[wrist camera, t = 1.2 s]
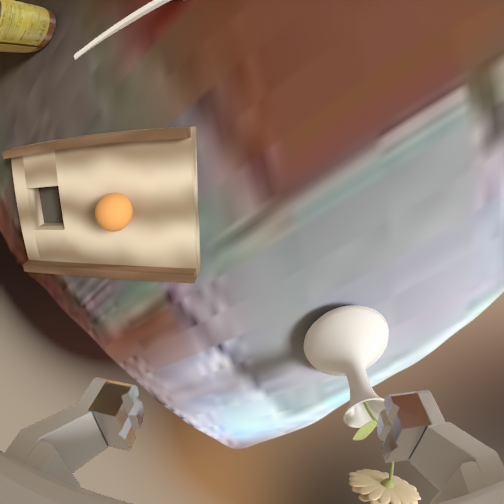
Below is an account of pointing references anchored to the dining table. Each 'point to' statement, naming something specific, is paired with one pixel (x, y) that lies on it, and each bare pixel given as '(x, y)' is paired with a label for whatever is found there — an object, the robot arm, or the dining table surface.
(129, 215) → the ball
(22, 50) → the sauce bottle
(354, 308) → the flower in vase
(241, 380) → the dining table surface
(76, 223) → the beige tray
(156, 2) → the fork
